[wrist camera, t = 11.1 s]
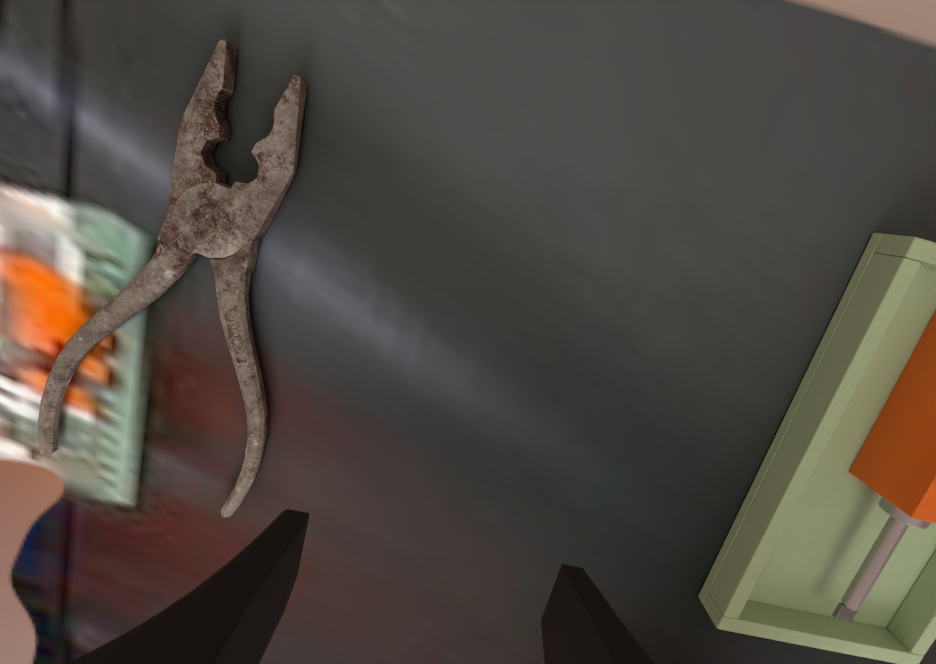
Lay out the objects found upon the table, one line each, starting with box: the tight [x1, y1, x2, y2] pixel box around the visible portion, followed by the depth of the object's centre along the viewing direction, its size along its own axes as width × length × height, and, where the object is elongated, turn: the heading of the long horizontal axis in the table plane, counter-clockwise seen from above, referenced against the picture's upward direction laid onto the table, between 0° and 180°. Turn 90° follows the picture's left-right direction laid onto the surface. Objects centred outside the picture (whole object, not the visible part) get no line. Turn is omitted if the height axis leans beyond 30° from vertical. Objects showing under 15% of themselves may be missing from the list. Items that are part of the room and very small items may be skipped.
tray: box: [698, 233, 936, 664], centre depth 23 cm, size 20×11×2 cm, turn 166°
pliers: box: [38, 40, 307, 518], centre depth 20 cm, size 10×1×20 cm
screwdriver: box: [832, 311, 936, 622], centre depth 21 cm, size 15×3×3 cm, turn 166°
